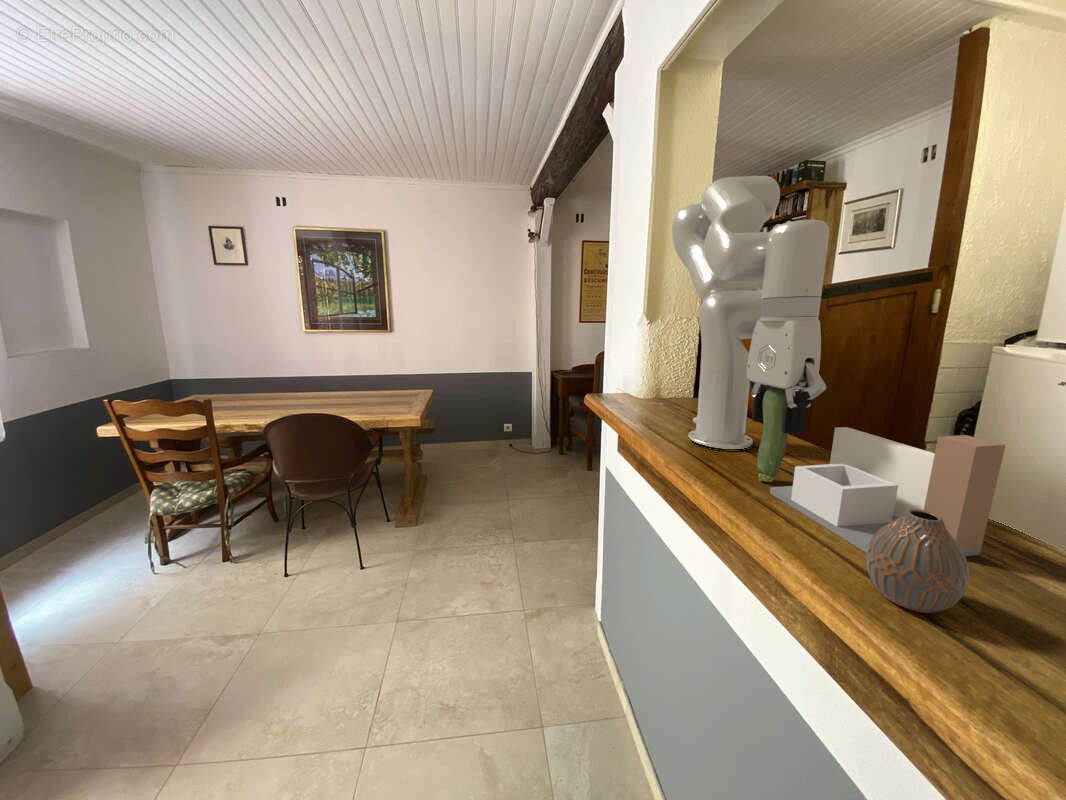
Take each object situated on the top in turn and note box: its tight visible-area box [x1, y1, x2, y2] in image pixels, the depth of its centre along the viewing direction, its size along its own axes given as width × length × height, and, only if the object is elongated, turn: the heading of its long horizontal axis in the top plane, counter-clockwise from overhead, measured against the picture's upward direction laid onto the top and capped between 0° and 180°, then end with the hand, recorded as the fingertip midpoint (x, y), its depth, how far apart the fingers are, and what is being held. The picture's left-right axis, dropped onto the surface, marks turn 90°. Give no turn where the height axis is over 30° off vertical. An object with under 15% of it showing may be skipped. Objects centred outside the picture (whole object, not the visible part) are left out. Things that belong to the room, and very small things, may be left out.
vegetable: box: [756, 386, 790, 483], centre depth 63 cm, size 4×4×20 cm
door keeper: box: [769, 426, 1007, 557], centre depth 52 cm, size 18×12×13 cm, turn 7°
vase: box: [865, 509, 970, 614], centre depth 37 cm, size 7×7×9 cm
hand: (776, 425), depth 63 cm, fingers open, 6 cm apart
